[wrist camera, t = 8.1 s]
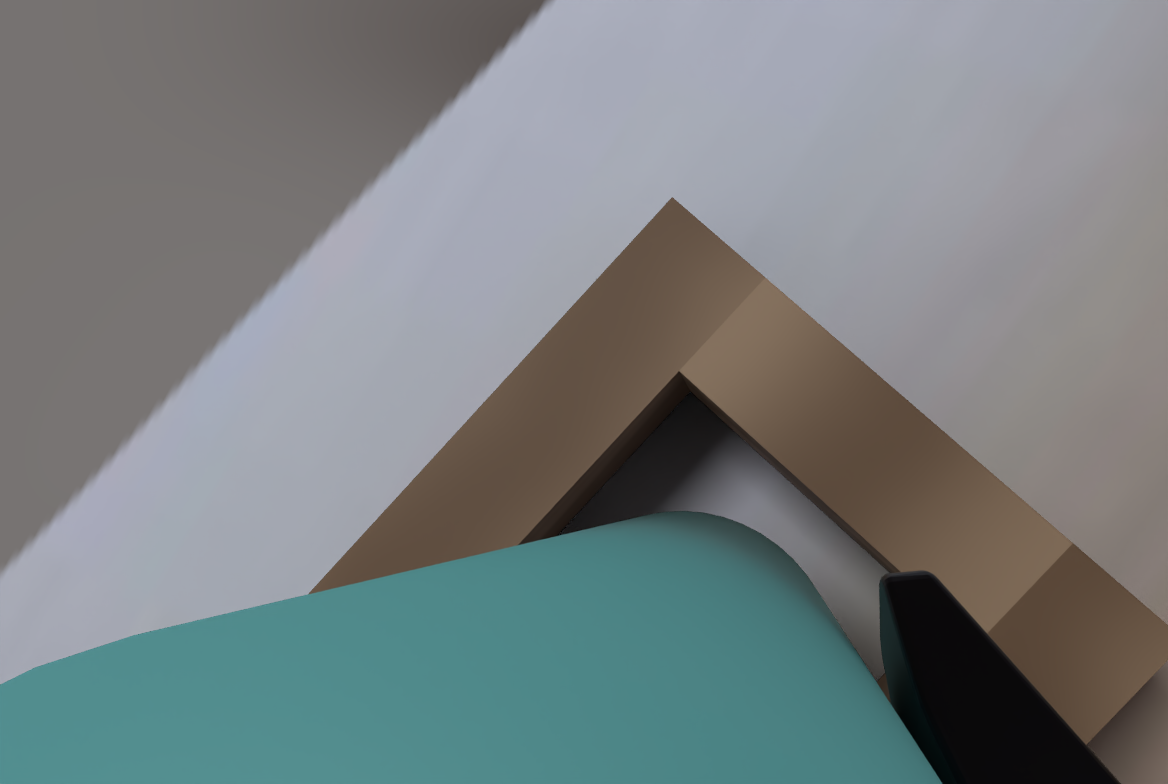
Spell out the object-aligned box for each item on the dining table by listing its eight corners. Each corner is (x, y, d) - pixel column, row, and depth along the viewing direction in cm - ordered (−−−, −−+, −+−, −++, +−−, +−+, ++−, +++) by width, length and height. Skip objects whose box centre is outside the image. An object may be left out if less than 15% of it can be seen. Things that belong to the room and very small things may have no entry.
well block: (1107, 615, 19) (1186, 641, 16) (716, 1025, 20) (709, 1137, 16) (684, 245, 21) (672, 197, 18) (337, 622, 22) (260, 646, 18)
